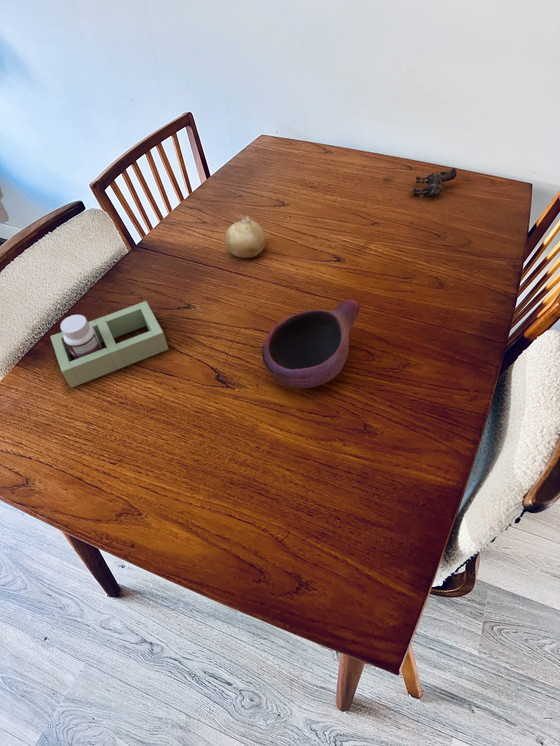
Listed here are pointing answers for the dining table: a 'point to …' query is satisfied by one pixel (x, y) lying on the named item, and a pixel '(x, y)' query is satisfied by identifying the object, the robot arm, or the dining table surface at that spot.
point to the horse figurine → (434, 183)
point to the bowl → (310, 345)
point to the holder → (112, 344)
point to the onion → (245, 238)
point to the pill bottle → (79, 336)
